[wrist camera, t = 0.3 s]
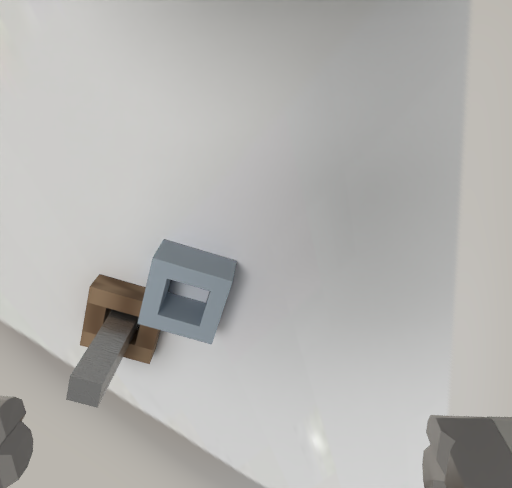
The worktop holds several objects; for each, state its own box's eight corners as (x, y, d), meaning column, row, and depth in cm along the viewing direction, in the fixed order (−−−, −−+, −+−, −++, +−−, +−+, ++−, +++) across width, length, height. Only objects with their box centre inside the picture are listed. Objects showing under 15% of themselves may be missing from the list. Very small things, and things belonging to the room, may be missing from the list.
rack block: (149, 300, 54) (137, 323, 50) (164, 239, 50) (152, 257, 46) (217, 319, 55) (211, 344, 50) (236, 260, 51) (232, 281, 47)
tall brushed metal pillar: (114, 319, 56) (66, 399, 43) (118, 299, 54) (70, 375, 42) (138, 326, 56) (97, 407, 43) (143, 306, 55) (102, 384, 42)
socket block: (89, 330, 57) (79, 344, 54) (99, 274, 53) (89, 286, 50) (155, 349, 57) (149, 363, 55) (169, 294, 54) (164, 307, 51)
